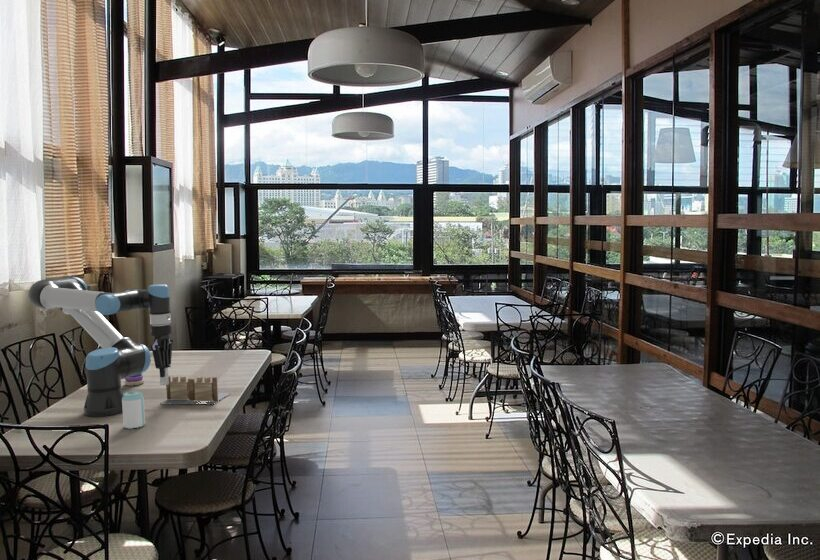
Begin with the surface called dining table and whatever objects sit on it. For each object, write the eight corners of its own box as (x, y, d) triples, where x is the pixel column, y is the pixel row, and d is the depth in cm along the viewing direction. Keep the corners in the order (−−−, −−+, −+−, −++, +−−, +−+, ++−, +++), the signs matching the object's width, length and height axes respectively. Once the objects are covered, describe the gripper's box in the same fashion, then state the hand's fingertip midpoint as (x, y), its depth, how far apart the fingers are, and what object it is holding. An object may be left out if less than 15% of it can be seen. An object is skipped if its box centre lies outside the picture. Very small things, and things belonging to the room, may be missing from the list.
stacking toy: (147, 381, 301) (145, 340, 299) (138, 386, 293) (136, 344, 291) (130, 381, 302) (128, 340, 300) (121, 386, 294) (118, 344, 292)
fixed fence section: (216, 402, 264) (215, 378, 263) (188, 401, 266) (186, 377, 265) (219, 400, 266) (217, 376, 265) (191, 400, 268) (189, 376, 267)
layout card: (212, 405, 260) (212, 403, 260) (160, 404, 263) (160, 402, 263) (230, 394, 276) (230, 393, 276) (180, 393, 279) (180, 392, 279)
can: (119, 429, 232) (117, 395, 231) (131, 423, 239) (129, 390, 238) (137, 430, 231) (135, 396, 230) (149, 423, 238) (147, 390, 237)
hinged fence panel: (187, 399, 266) (186, 377, 265) (166, 399, 267) (164, 377, 266) (189, 398, 268) (188, 376, 267) (168, 398, 269) (167, 376, 268)
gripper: (161, 327, 251) (165, 388, 253) (178, 321, 264) (181, 380, 266) (142, 327, 253) (146, 388, 255) (160, 321, 265) (164, 380, 267)
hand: (164, 384), depth 260 cm, fingers closed
